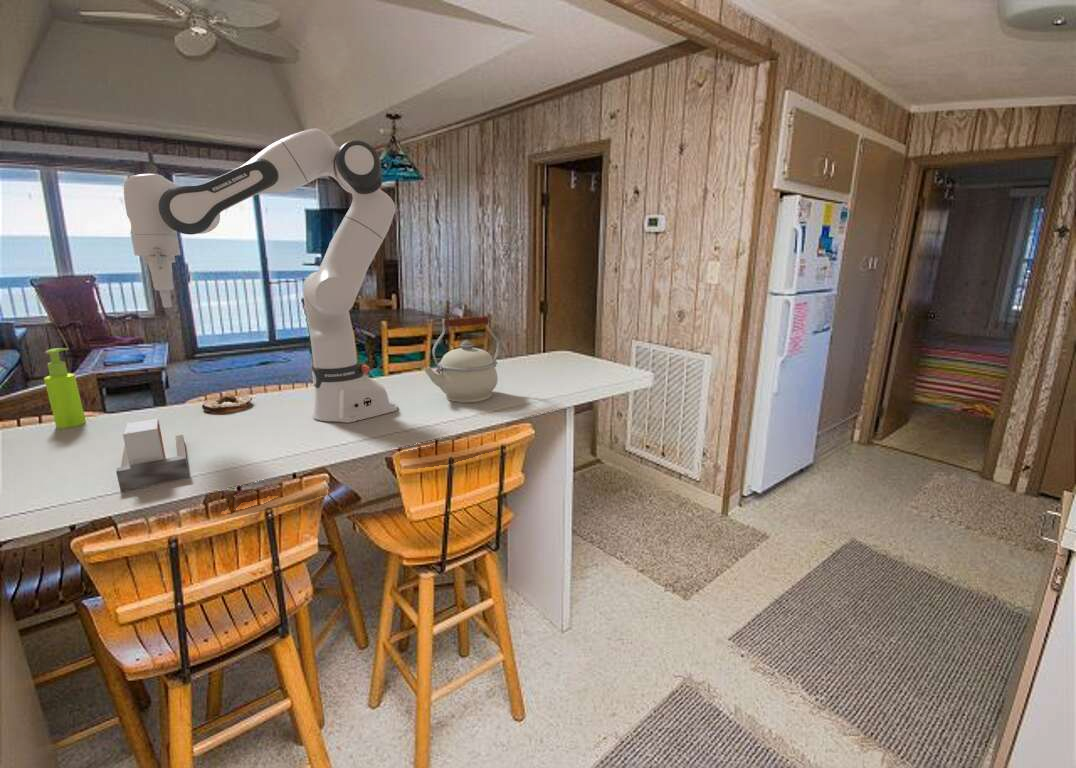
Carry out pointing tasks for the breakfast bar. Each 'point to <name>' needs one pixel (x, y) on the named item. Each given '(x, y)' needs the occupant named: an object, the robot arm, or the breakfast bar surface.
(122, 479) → the guide channel
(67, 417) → the soap dispenser
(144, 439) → the small box
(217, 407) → the brown speckled ring
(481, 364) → the kettle
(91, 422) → the breakfast bar surface
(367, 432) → the breakfast bar surface
